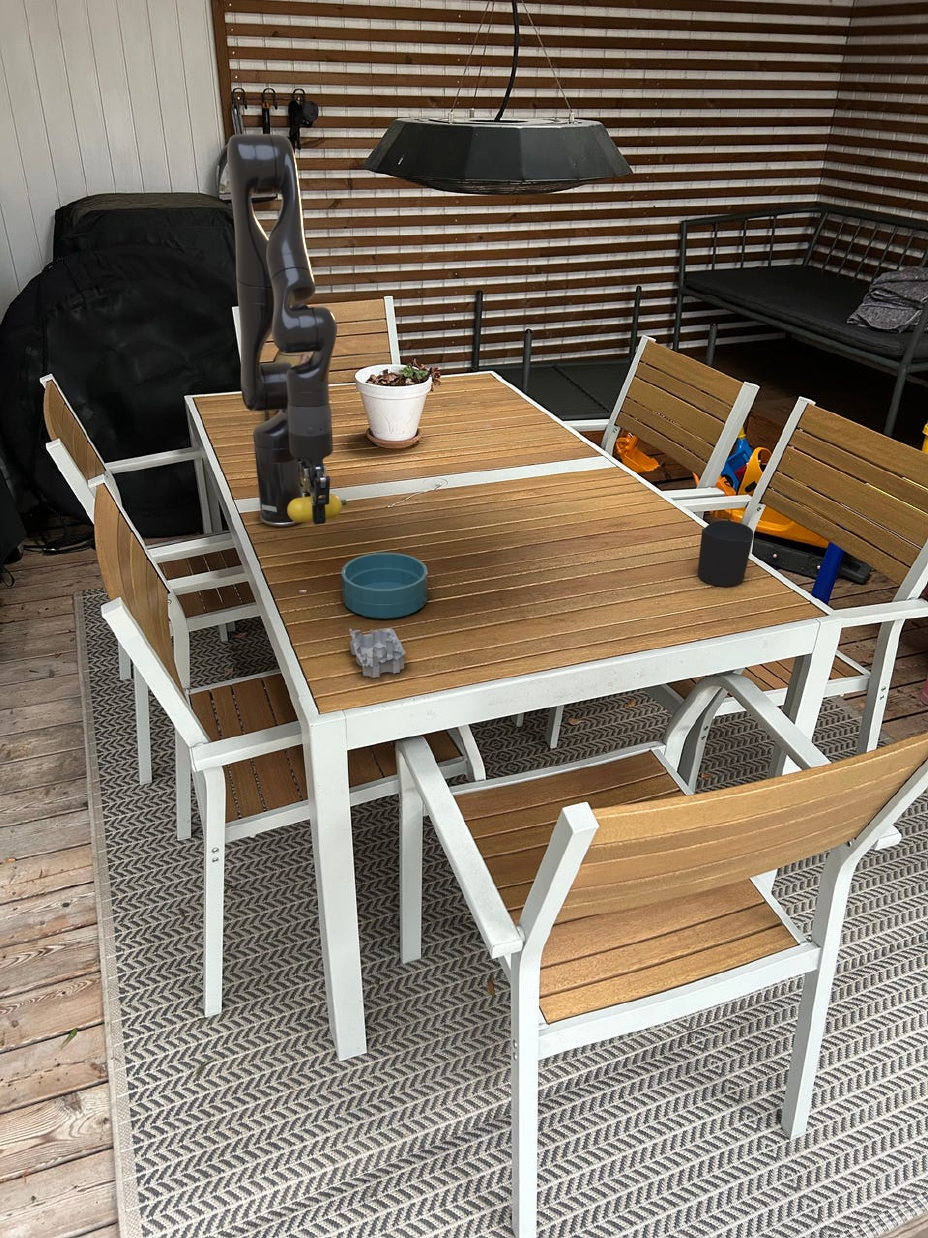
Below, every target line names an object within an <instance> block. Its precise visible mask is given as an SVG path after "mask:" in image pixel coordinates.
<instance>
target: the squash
mask: <svg viewBox="0 0 928 1238" xmlns="http://www.w3.org/2000/svg"><path fill="white" fill-rule="evenodd" d="M319 498H322V496H319ZM347 505H348V504H347V500H346V499H341V498H340V497H339V496H337V495H336V494H333V493H330V494H329V504H327V505H325V515H326V520H327V519H334V518H336V517H338V516H339V515H340V514H341V513H342V510H343V506H347ZM287 512H288V515H289V517H290V518H291V519H292V520H293V521H295V522H299V524H300V523H308V522H313V516H312V504H311V496H309V497H304V496H303V497H302V498H296V499H294V500H292V501H291V502H290V503H289V505H288V509H287Z"/></svg>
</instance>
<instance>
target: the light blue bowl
mask: <svg viewBox="0 0 928 1238" xmlns="http://www.w3.org/2000/svg"><path fill="white" fill-rule="evenodd" d="M341 592H342V594H341V595H342V602H343V604H344V606H345V608H347V609H349V611H351V612H352V613H355V614H356V615H359V616H362V617H366V618H369V619H375V620H376V619H378V620H391V619H392V620H393V619H398V618H403V617H406V616H410V615H411V614H413V613H415V612H417V611H419V610H420V609H421V608H423V607H424V606H425V605H426V603H427V601H428V567H427V566H426V565H425V563H424V561H421V560H420V559H418V558H416V557H414V556H410V555H407V554H404V553H396V552H374V553H367V554H363V555H360V556H358V557H355V558H353V559H351V560H349V561H347V562H346V563H345V564H344V566H342V568H341Z"/></svg>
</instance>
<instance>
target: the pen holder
mask: <svg viewBox="0 0 928 1238" xmlns="http://www.w3.org/2000/svg"><path fill="white" fill-rule="evenodd" d="M754 536H755V535H754V531H753V529H752V528H751V527H750V526H748V525H746V524H744V523H742V522H738V521H733V520H724V519H722V520H720V519H719V520H714V521H712V522H711V523H709V524H707V525H706V526H705V527H704V528H702V529H701V537H700V546H699V555H698V556H699V557H698V565H697V576H698V578H699V579H700V580H701V581H702V582H704V583H705V584H708V585H710V586H714V587H719V588H733V587H736V586H739V585H740V584H741V583H742V582H743V581H744V578H745V575H746V571H747V566H748V563H749V558H750V554H751V549H752V545H753V541H754Z"/></svg>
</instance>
